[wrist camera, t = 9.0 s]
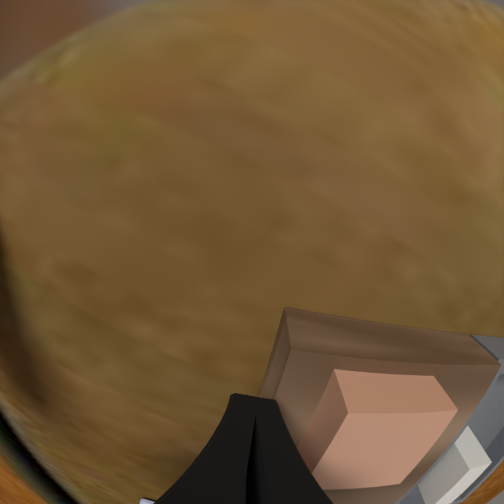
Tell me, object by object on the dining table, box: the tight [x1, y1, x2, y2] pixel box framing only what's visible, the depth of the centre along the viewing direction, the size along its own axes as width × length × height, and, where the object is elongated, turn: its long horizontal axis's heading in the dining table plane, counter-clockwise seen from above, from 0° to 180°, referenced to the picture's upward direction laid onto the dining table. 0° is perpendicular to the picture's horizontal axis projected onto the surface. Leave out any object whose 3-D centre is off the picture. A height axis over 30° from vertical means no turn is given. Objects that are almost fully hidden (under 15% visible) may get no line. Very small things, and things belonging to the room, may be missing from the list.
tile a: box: [418, 426, 492, 504], centre depth 11 cm, size 4×4×2 cm
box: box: [395, 335, 504, 504], centre depth 12 cm, size 15×10×2 cm
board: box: [259, 307, 501, 504], centre depth 12 cm, size 15×10×3 cm, turn 168°
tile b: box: [297, 369, 458, 490], centre depth 8 cm, size 4×4×2 cm
